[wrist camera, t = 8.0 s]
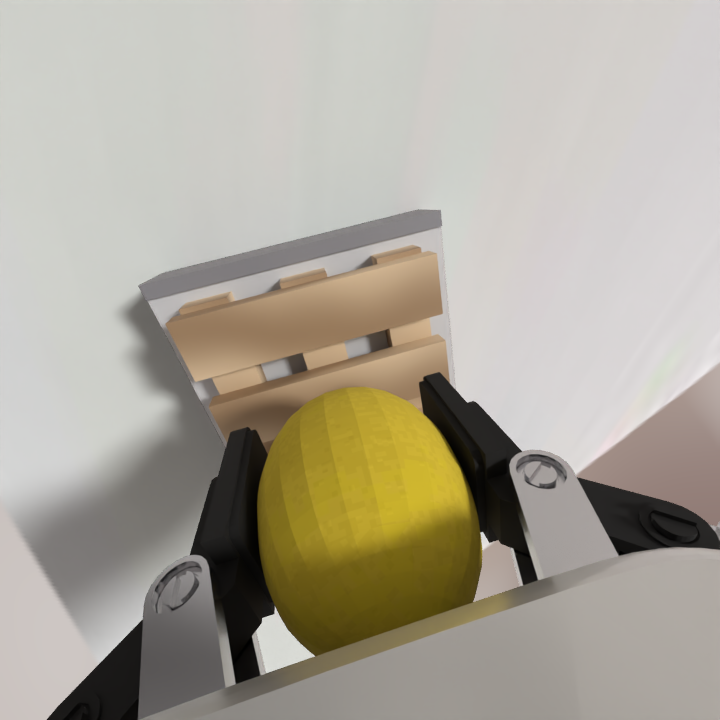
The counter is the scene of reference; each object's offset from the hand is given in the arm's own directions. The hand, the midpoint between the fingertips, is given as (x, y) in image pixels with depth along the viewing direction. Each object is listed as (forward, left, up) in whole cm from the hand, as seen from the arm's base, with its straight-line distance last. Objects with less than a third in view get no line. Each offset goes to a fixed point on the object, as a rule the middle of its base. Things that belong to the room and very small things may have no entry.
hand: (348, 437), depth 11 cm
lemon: (0, 0, -2) cm, 2 cm away
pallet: (0, 0, -5) cm, 5 cm away
